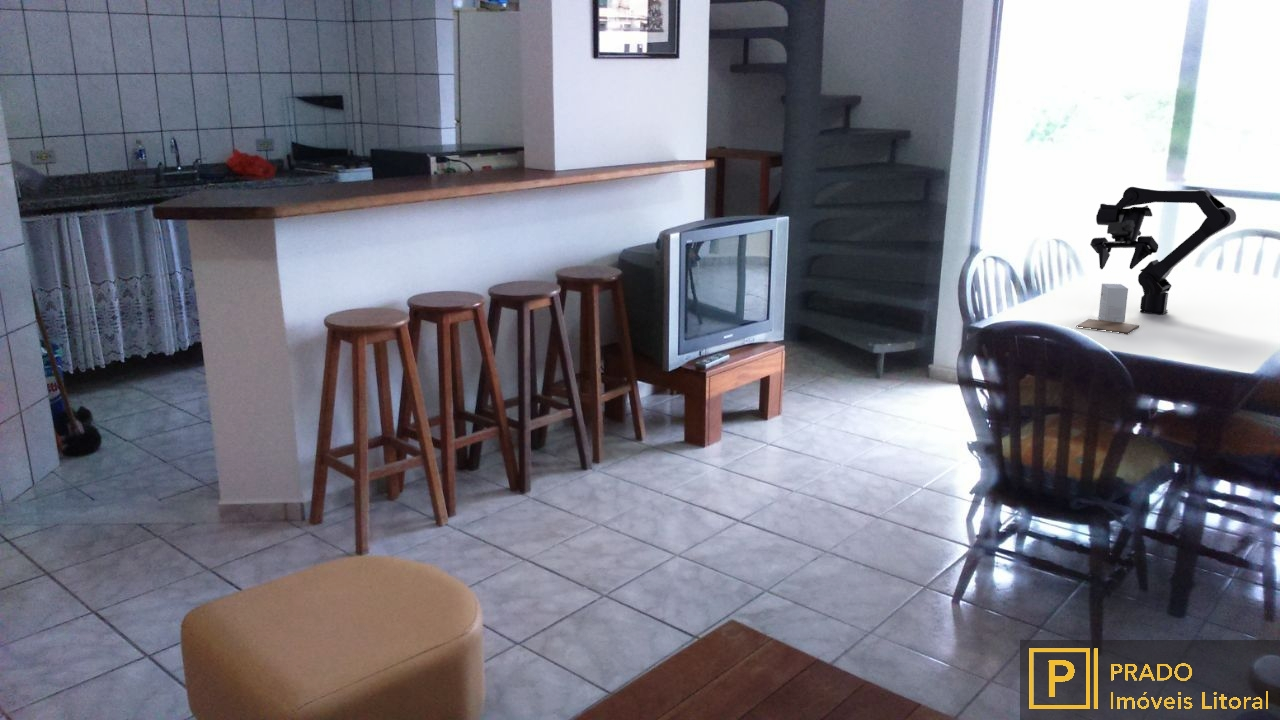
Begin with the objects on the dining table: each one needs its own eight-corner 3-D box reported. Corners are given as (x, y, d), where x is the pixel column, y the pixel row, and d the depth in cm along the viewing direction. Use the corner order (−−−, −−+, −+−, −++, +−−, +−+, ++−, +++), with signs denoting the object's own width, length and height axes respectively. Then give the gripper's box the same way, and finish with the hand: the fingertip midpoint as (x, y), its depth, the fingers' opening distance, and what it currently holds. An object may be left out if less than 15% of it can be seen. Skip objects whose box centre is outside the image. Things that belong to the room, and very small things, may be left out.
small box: (1124, 323, 294) (1128, 288, 291) (1104, 322, 295) (1108, 287, 292) (1117, 317, 301) (1121, 283, 298) (1097, 317, 302) (1101, 283, 300)
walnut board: (1139, 327, 289) (1139, 325, 289) (1127, 334, 280) (1127, 332, 280) (1088, 320, 297) (1089, 318, 297) (1076, 327, 289) (1076, 325, 288)
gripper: (1090, 212, 310) (1075, 255, 306) (1150, 209, 295) (1135, 254, 291) (1105, 232, 316) (1090, 274, 312) (1165, 229, 301) (1150, 273, 297)
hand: (1115, 268), depth 303 cm, fingers open, 9 cm apart
